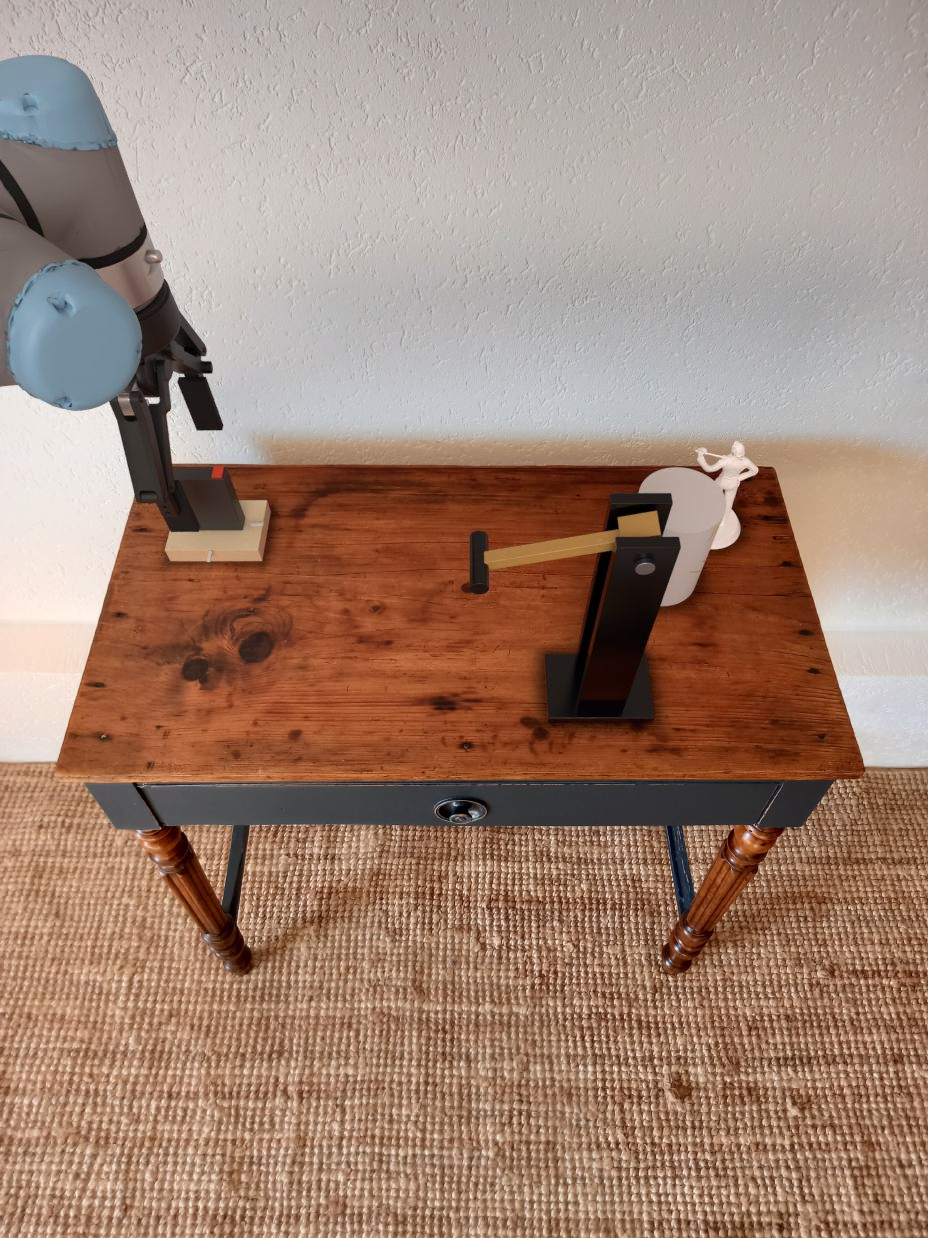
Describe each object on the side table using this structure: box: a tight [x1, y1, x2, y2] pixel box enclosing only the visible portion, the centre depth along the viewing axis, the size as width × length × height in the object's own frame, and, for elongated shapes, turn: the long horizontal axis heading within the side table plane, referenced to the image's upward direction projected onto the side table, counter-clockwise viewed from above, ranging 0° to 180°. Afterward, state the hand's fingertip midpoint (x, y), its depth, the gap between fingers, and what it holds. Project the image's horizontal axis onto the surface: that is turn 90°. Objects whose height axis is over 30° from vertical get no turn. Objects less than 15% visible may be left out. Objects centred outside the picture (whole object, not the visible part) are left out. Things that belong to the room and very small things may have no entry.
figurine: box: [694, 440, 759, 550], centre depth 84 cm, size 7×7×12 cm
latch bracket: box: [543, 492, 681, 724], centre depth 67 cm, size 10×7×26 cm
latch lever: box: [469, 511, 661, 595], centre depth 59 cm, size 14×5×2 cm, turn 90°
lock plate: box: [164, 499, 272, 563], centre depth 88 cm, size 10×10×2 cm
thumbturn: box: [172, 465, 245, 530], centre depth 84 cm, size 6×2×8 cm, turn 90°
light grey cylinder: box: [638, 466, 726, 607], centre depth 80 cm, size 8×8×12 cm
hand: (198, 476), depth 81 cm, fingers open, 13 cm apart
